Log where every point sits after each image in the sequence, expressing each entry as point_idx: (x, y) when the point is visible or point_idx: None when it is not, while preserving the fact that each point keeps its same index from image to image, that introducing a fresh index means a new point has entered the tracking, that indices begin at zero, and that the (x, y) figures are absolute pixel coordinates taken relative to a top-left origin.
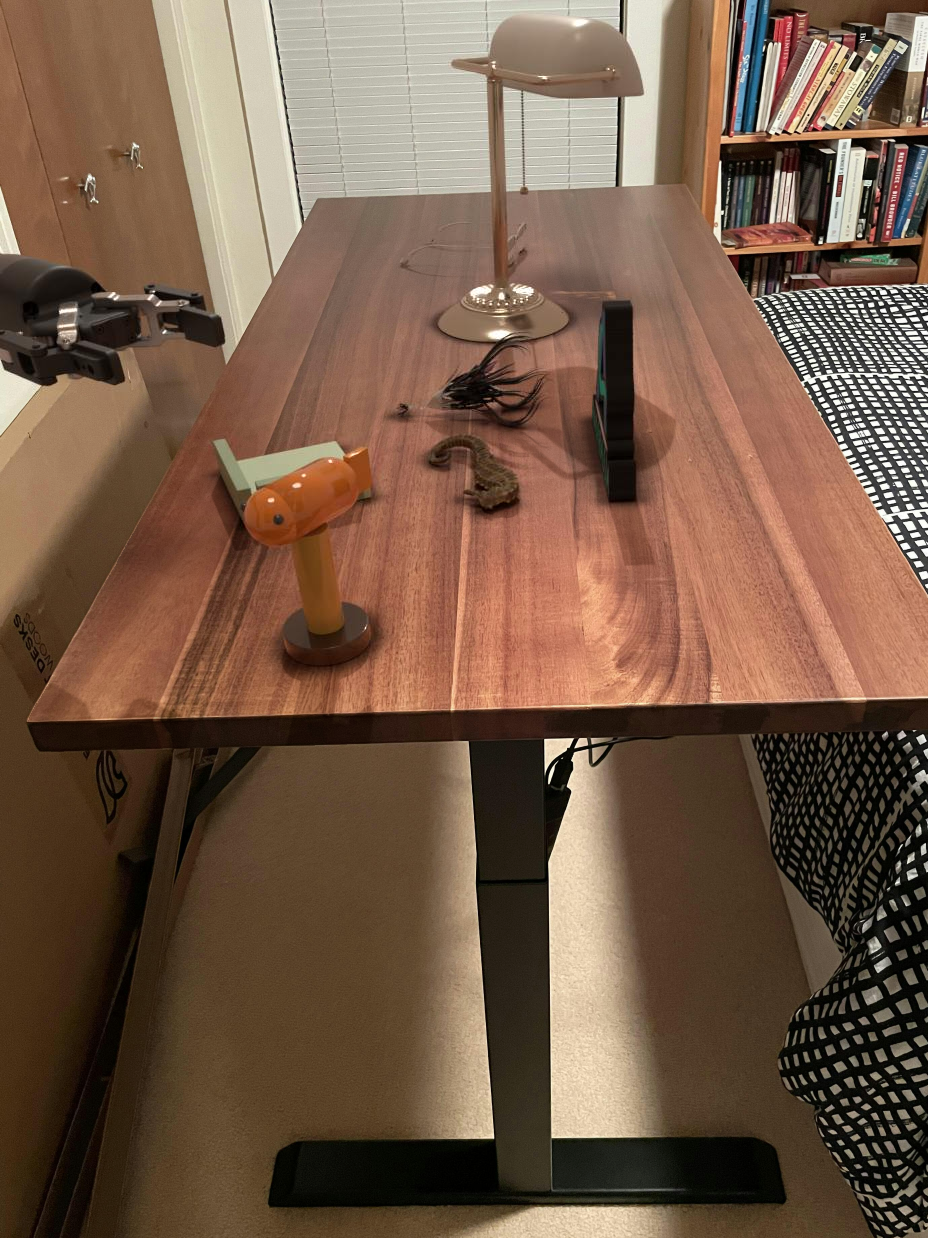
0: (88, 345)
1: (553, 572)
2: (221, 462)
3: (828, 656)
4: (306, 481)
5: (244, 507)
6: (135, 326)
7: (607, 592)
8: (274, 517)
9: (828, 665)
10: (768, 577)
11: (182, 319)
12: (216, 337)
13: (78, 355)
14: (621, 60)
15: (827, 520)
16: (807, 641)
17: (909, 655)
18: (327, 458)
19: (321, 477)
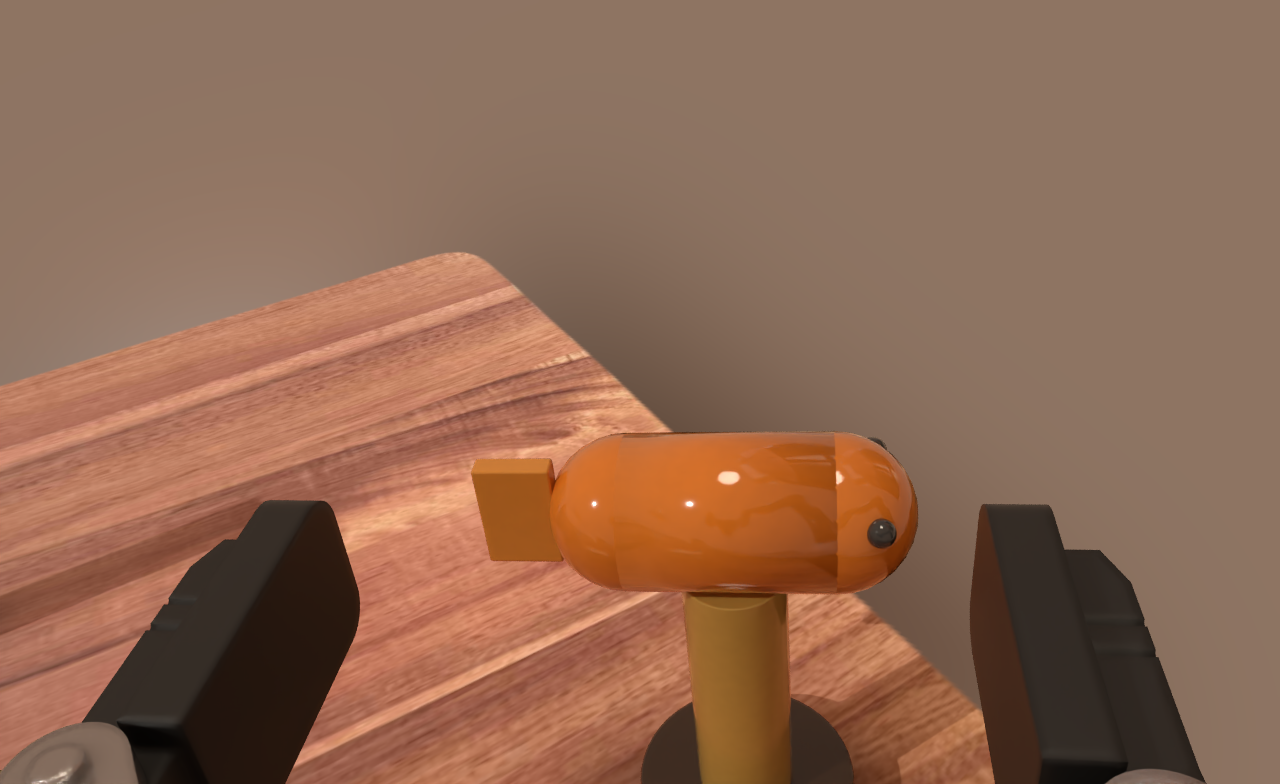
0: (1071, 653)
1: None
2: None
3: (447, 317)
4: (736, 432)
5: (891, 521)
6: None
7: (370, 511)
8: (883, 443)
9: (465, 313)
10: (269, 394)
11: (208, 765)
12: (349, 573)
13: (1165, 687)
14: None
15: (76, 393)
16: (422, 334)
17: (417, 281)
18: (609, 451)
19: (691, 432)
